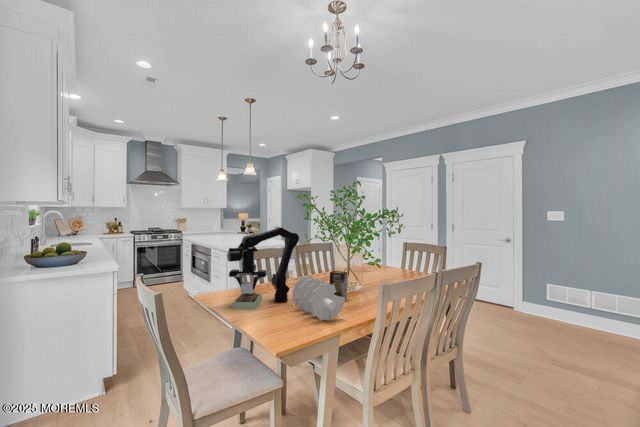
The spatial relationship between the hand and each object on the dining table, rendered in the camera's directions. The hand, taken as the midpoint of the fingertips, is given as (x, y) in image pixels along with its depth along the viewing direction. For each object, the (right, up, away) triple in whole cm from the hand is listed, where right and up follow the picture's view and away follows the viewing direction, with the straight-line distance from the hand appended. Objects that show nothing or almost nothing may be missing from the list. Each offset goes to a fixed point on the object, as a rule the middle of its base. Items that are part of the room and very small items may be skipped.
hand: (248, 289), depth 159 cm
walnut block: (0, -9, 0) cm, 9 cm away
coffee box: (+48, -10, +16) cm, 52 cm away
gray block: (0, -1, 0) cm, 1 cm away
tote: (-1, -9, +3) cm, 10 cm away
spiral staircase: (+36, -10, -9) cm, 39 cm away
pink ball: (0, -8, +8) cm, 11 cm away
